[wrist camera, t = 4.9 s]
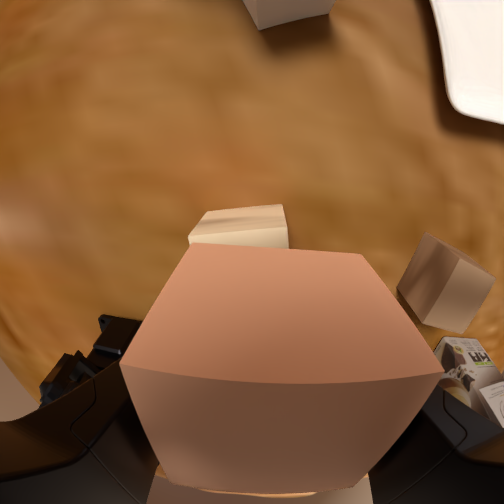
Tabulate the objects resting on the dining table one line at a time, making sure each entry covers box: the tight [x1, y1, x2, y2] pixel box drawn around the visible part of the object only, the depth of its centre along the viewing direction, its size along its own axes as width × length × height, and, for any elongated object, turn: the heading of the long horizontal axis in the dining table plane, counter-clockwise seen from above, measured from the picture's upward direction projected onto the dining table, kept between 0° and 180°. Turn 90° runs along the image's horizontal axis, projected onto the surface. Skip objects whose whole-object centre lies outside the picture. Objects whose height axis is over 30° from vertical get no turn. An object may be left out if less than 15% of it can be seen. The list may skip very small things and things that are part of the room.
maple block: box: [188, 204, 289, 249], centre depth 17 cm, size 5×5×5 cm
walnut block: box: [397, 232, 496, 334], centre depth 17 cm, size 5×5×5 cm
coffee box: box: [433, 337, 504, 428], centre depth 17 cm, size 9×6×16 cm
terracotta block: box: [119, 242, 445, 494], centre depth 7 cm, size 5×5×5 cm
